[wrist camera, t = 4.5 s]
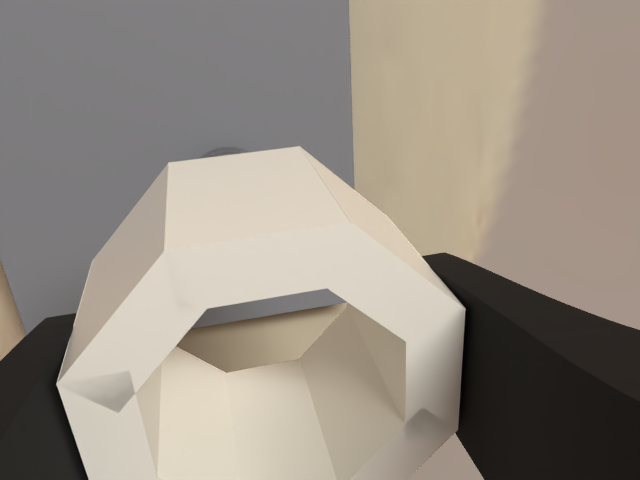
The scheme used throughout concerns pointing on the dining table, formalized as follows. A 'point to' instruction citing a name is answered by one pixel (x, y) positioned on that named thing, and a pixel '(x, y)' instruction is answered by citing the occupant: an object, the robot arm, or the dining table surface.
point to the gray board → (152, 120)
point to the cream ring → (270, 380)
